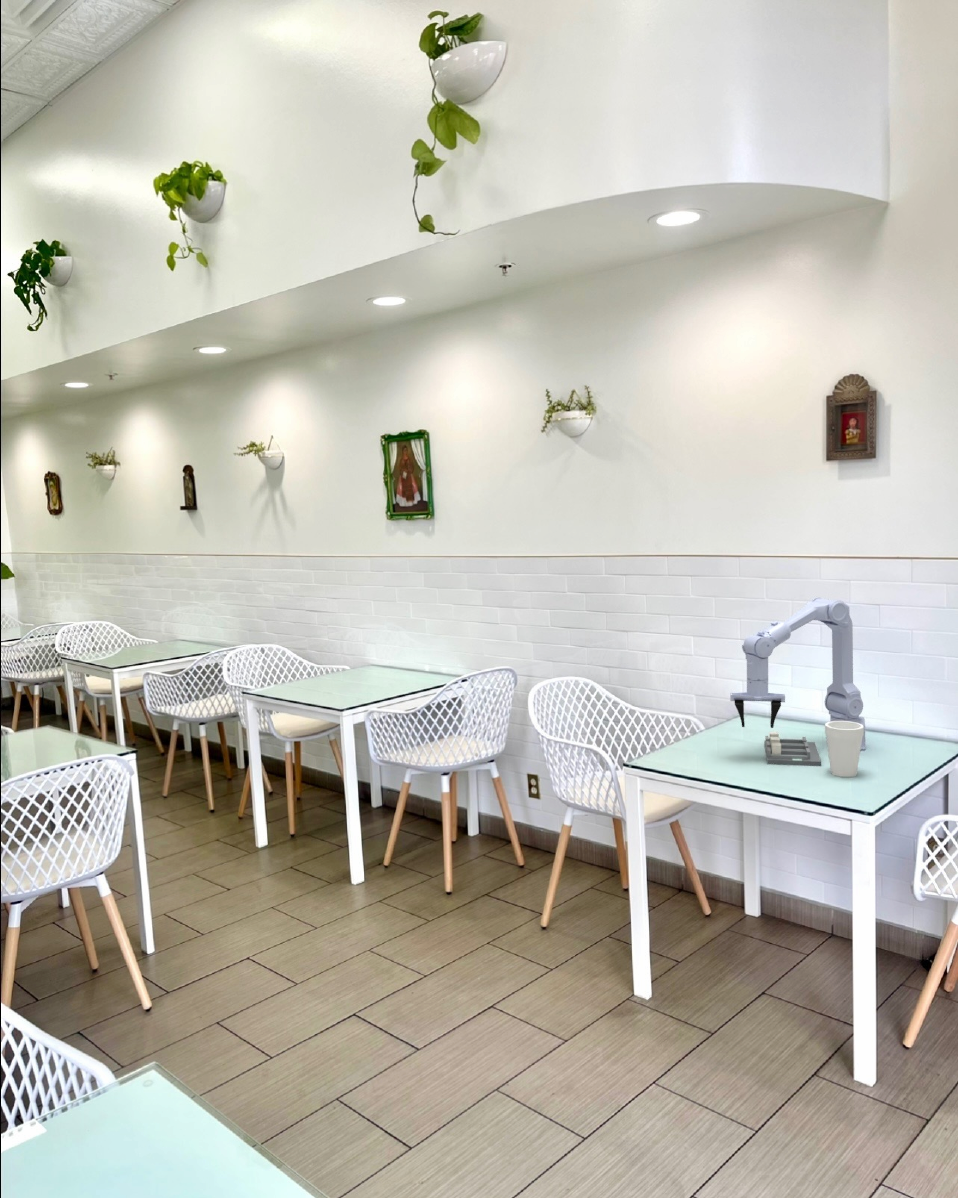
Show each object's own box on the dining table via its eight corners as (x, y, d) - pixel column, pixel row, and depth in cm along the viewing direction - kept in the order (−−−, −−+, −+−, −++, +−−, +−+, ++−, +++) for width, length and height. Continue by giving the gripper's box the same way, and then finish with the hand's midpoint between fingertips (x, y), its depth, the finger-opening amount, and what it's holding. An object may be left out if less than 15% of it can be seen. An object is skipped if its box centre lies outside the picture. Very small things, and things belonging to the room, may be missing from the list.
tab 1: (778, 742, 275) (778, 731, 275) (778, 745, 272) (778, 734, 272) (769, 742, 276) (769, 731, 276) (769, 745, 273) (769, 734, 273)
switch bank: (814, 746, 275) (814, 735, 275) (821, 766, 256) (821, 754, 256) (764, 744, 279) (764, 734, 278) (767, 764, 260) (767, 752, 259)
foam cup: (865, 779, 243) (865, 730, 242) (827, 778, 246) (827, 729, 244) (859, 768, 253) (860, 721, 251) (822, 767, 255) (823, 720, 253)
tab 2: (779, 748, 270) (779, 737, 269) (779, 751, 267) (779, 740, 266) (770, 747, 270) (770, 737, 270) (770, 750, 267) (770, 739, 267)
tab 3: (780, 754, 264) (780, 742, 263) (781, 757, 261) (781, 745, 261) (771, 753, 264) (771, 742, 264) (771, 756, 262) (771, 745, 261)
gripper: (730, 681, 259) (730, 729, 261) (785, 682, 256) (785, 731, 257) (730, 676, 266) (730, 723, 268) (784, 677, 262) (784, 724, 264)
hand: (757, 726), depth 263 cm, fingers open, 7 cm apart
